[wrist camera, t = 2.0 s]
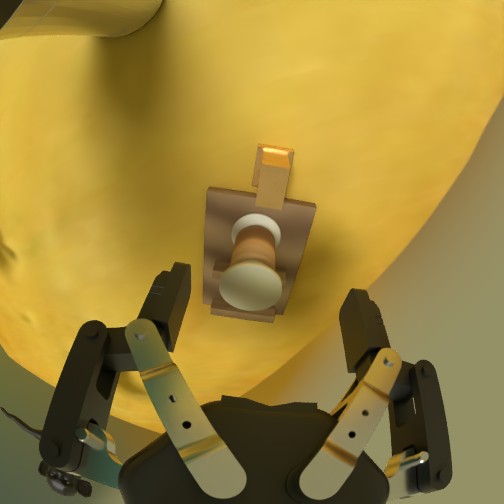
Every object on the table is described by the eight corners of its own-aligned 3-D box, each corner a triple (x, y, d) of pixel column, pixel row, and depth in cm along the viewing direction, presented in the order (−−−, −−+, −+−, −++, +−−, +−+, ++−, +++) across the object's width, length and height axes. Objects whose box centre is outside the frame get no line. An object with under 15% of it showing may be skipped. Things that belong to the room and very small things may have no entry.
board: (209, 186, 29) (183, 239, 21) (314, 203, 30) (330, 261, 21) (204, 297, 40) (189, 355, 32) (282, 309, 41) (283, 368, 32)
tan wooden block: (258, 143, 26) (255, 160, 21) (292, 149, 26) (298, 167, 22) (252, 181, 29) (248, 206, 24) (285, 187, 29) (287, 213, 24)
